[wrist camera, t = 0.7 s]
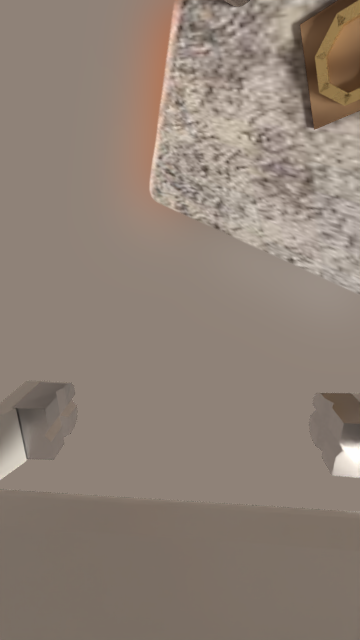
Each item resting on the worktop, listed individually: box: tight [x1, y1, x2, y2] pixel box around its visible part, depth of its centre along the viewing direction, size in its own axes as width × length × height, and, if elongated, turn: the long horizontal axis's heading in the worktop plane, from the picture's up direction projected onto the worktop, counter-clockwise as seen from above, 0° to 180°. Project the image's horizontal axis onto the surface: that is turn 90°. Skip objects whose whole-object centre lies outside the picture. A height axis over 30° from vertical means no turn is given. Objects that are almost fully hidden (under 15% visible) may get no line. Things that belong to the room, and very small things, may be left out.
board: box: [300, 0, 360, 130], centre depth 34 cm, size 12×12×1 cm
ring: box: [315, 0, 360, 106], centre depth 33 cm, size 9×9×2 cm
